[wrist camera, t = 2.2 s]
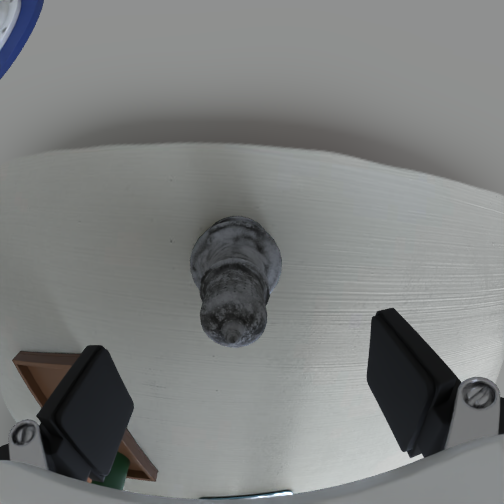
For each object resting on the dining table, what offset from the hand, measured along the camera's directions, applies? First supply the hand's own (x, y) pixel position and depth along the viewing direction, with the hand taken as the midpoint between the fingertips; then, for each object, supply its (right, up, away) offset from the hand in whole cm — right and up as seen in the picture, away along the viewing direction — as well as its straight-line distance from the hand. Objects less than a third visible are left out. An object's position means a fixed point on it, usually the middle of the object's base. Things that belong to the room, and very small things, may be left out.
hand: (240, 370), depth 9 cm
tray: (-21, -18, +19) cm, 33 cm away
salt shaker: (-1, +4, +13) cm, 14 cm away
